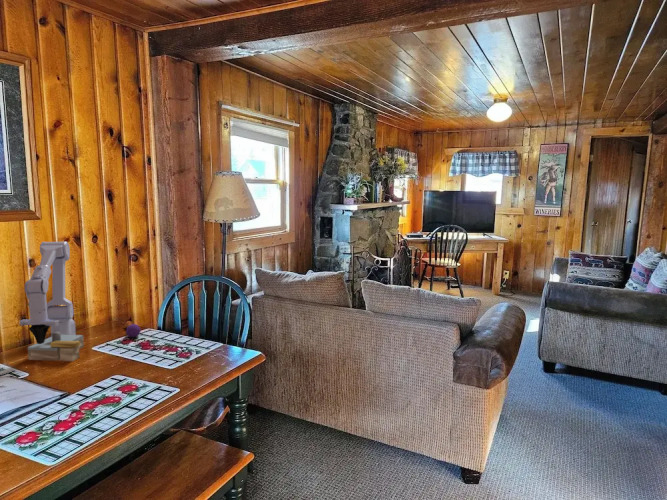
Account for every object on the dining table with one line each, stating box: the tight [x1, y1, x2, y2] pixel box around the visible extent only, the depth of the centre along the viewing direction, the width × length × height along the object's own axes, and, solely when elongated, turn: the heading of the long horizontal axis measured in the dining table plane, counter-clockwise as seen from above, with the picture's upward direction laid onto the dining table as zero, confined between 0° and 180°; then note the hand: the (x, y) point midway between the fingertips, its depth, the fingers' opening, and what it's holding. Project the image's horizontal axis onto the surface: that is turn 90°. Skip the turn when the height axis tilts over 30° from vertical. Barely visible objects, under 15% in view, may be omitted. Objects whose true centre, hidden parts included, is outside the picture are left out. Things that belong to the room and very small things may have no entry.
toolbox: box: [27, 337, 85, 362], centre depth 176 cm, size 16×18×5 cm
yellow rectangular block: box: [50, 341, 80, 348], centre depth 169 cm, size 3×10×2 cm, turn 87°
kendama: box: [124, 320, 141, 338], centre depth 203 cm, size 6×6×20 cm
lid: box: [27, 332, 84, 351], centre depth 176 cm, size 16×12×6 cm
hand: (40, 343), depth 170 cm, fingers closed
